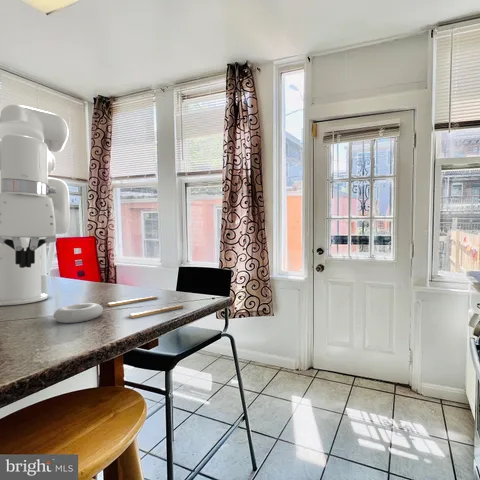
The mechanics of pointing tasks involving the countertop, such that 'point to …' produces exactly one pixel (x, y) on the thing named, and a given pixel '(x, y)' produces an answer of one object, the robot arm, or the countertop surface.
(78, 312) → the donut
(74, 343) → the countertop surface
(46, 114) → the robot arm
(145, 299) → the strips
